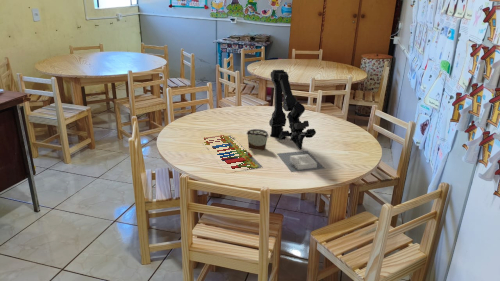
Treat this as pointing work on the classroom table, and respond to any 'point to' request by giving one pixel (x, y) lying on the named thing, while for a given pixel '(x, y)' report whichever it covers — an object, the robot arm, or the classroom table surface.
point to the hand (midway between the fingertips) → (300, 149)
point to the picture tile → (303, 161)
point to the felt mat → (286, 159)
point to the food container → (257, 139)
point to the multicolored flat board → (243, 157)
